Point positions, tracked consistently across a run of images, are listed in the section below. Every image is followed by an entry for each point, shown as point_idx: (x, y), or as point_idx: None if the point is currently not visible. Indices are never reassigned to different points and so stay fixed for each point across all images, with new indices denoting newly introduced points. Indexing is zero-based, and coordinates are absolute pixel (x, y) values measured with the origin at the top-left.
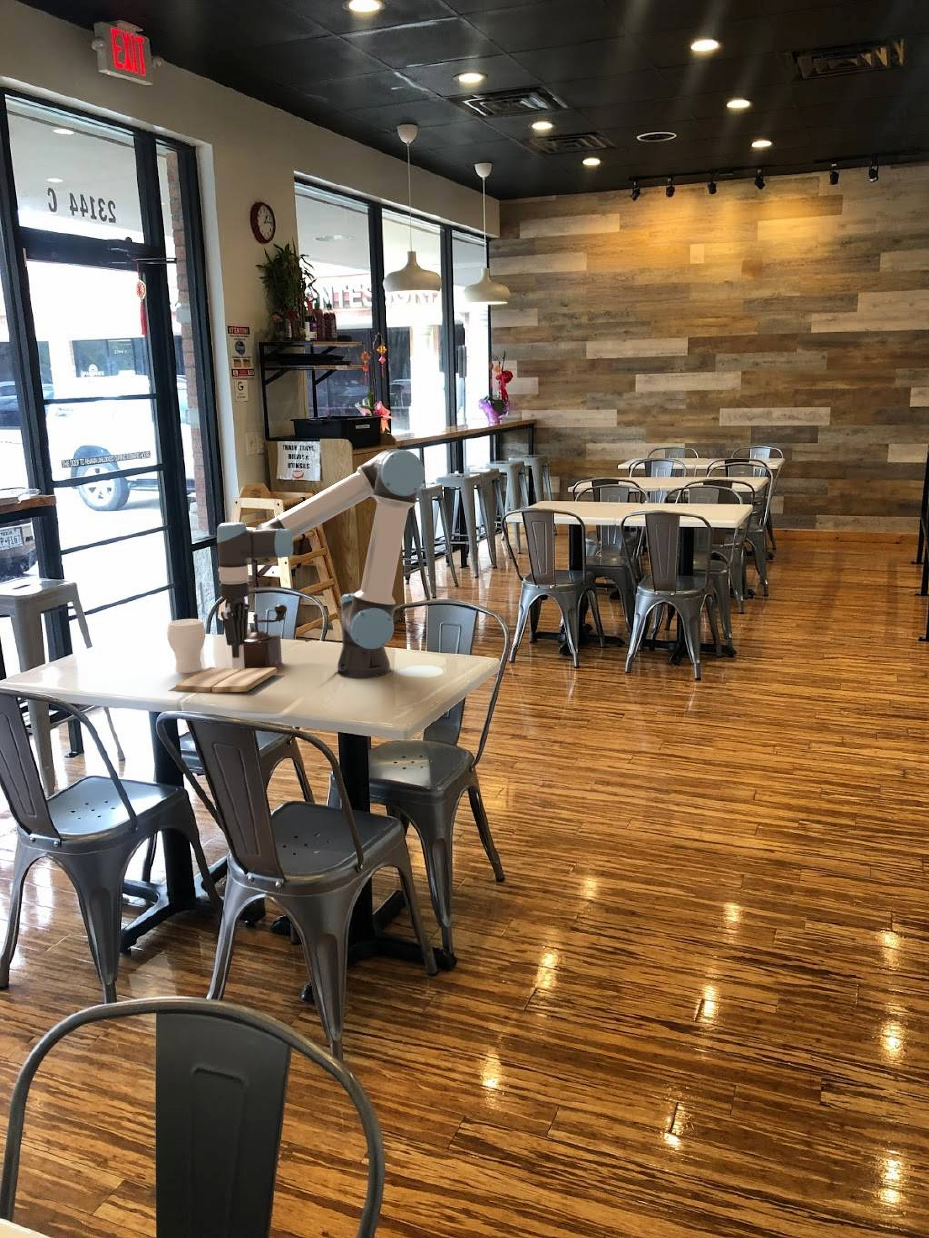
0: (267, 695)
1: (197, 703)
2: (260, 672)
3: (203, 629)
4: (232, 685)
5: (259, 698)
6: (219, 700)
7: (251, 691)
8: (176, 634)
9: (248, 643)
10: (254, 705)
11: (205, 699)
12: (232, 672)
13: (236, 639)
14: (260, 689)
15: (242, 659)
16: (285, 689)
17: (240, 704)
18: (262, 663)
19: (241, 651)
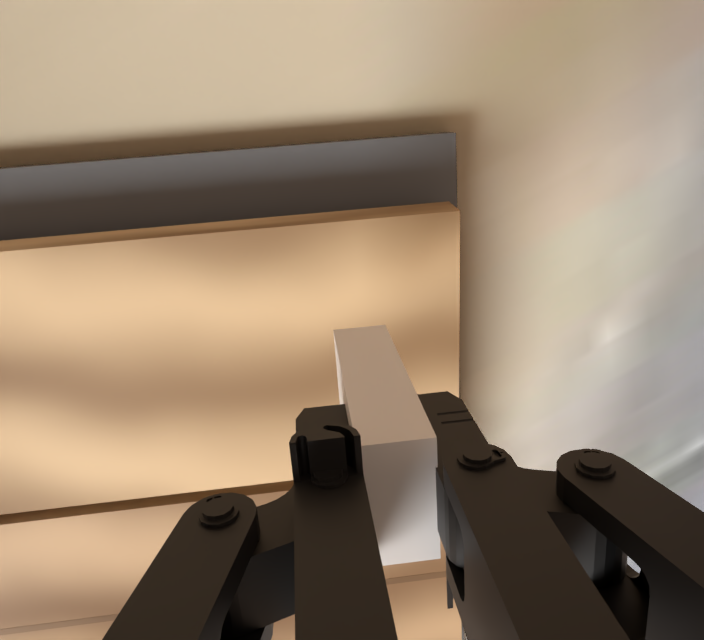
0: (342, 80)
1: (599, 424)
2: (25, 321)
3: None
4: (435, 333)
5: (429, 101)
6: (522, 340)
7: (368, 205)
8: None
9: None
10: (601, 46)
11: (515, 428)
12: (68, 534)
13: (609, 498)
14: (301, 165)
15: (377, 361)
16: (144, 16)
17: (589, 160)
18: None
19: (409, 400)
